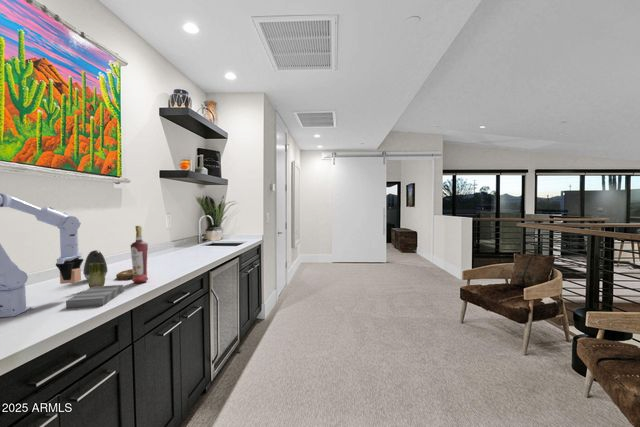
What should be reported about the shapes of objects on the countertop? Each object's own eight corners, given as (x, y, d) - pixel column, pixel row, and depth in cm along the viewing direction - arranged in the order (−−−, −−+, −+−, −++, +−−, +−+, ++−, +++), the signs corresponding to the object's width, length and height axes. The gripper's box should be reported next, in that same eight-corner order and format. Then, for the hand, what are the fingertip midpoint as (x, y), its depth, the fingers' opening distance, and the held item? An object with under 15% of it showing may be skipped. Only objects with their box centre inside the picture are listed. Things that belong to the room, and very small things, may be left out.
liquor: (152, 280, 154) (150, 225, 153) (140, 284, 147) (138, 226, 146) (140, 280, 156) (138, 225, 155) (128, 283, 149) (126, 226, 148)
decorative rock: (122, 275, 169) (114, 283, 155) (121, 268, 169) (113, 275, 155) (145, 272, 173) (139, 279, 159) (144, 265, 172) (138, 272, 158)
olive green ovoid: (83, 283, 152) (82, 252, 151) (83, 279, 160) (82, 250, 159) (108, 279, 158) (107, 250, 158) (107, 276, 166) (106, 248, 166)
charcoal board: (103, 305, 116) (102, 297, 116) (66, 308, 113) (65, 300, 113) (123, 291, 135) (123, 284, 135) (92, 293, 132) (92, 286, 132)
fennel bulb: (106, 287, 143) (105, 261, 143) (98, 290, 138) (97, 263, 138) (94, 287, 143) (93, 261, 143) (86, 290, 138) (85, 263, 138)
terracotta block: (74, 282, 124) (74, 270, 123) (60, 283, 122) (59, 271, 122) (81, 279, 128) (80, 268, 128) (67, 280, 127) (66, 268, 127)
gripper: (71, 247, 119) (72, 281, 119) (89, 242, 133) (90, 273, 133) (49, 248, 117) (51, 283, 117) (70, 243, 131) (71, 274, 132)
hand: (70, 278), depth 125 cm, fingers closed on terracotta block, 5 cm apart
